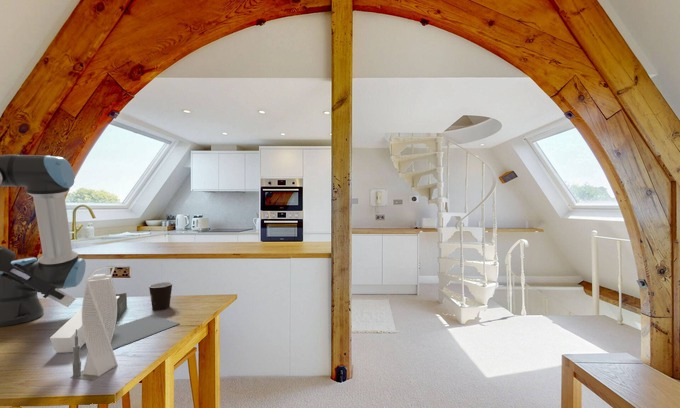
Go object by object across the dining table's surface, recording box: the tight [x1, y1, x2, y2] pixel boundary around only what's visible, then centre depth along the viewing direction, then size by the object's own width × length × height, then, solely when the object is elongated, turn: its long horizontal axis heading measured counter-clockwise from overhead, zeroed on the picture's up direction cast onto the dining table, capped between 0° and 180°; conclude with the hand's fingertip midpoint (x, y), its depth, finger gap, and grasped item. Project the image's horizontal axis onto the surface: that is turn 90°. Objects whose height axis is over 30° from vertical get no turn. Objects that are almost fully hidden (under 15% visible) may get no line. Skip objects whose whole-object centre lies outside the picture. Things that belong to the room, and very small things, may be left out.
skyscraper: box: [70, 265, 118, 381], centre depth 80 cm, size 8×8×28 cm
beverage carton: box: [116, 292, 128, 323], centre depth 120 cm, size 8×19×7 cm, turn 27°
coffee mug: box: [148, 281, 173, 312], centre depth 129 cm, size 12×9×10 cm
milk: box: [49, 296, 119, 354], centre depth 99 cm, size 6×6×22 cm
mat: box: [84, 314, 180, 350], centre depth 104 cm, size 18×24×1 cm
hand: (70, 302), depth 89 cm, fingers closed
